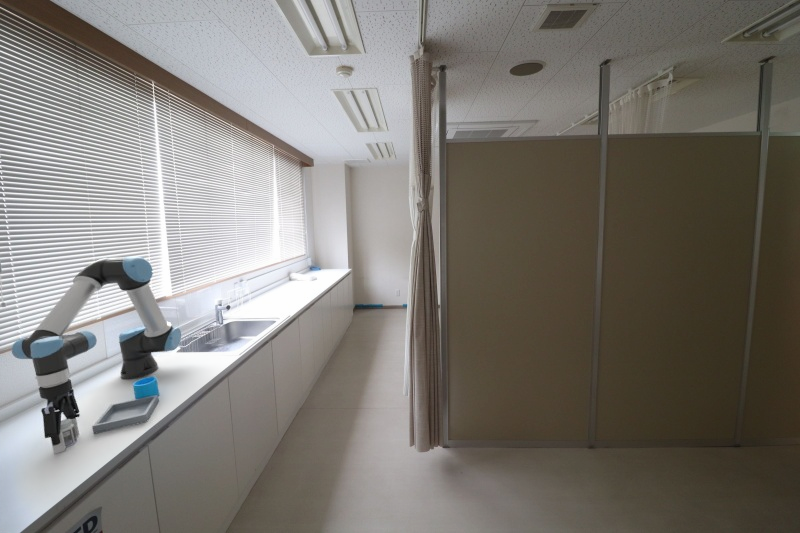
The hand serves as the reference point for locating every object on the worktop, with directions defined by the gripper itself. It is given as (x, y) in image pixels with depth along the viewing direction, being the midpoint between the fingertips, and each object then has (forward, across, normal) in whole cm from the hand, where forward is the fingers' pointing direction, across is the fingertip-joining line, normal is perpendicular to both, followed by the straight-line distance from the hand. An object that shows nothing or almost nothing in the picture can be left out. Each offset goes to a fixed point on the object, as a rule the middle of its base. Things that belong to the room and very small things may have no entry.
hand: (67, 443), depth 113 cm
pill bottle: (0, 0, 0) cm, 0 cm away
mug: (0, -26, +17) cm, 31 cm away
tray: (0, -11, +14) cm, 18 cm away
